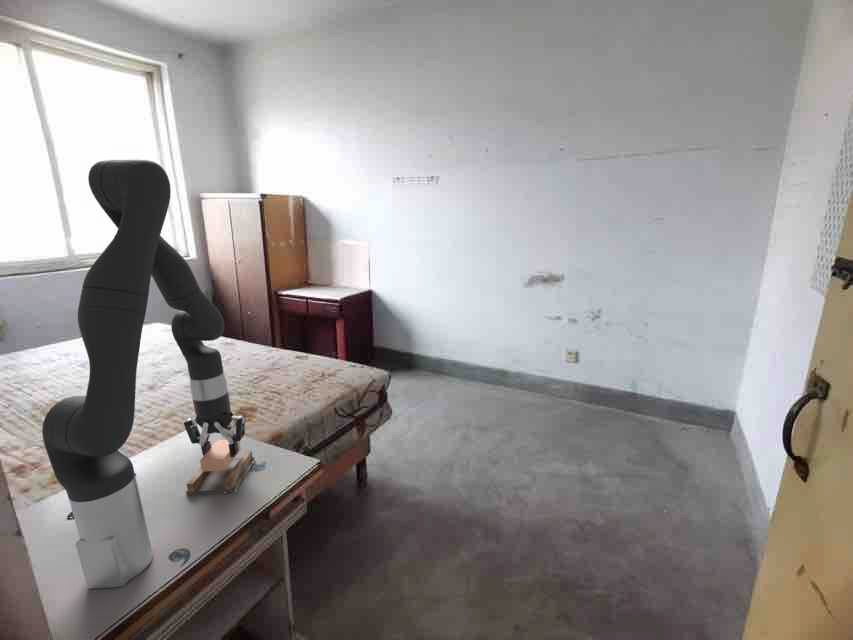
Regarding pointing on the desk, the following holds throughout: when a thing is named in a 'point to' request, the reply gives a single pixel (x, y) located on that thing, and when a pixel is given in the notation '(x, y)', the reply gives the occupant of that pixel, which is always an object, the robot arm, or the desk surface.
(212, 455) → the salmon pink block
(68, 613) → the desk surface
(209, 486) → the holder
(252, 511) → the desk surface
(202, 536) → the desk surface
